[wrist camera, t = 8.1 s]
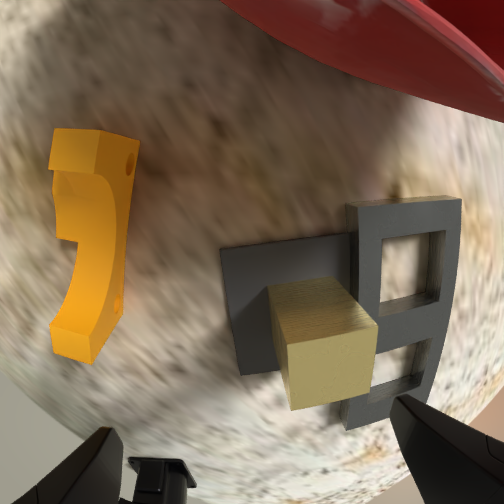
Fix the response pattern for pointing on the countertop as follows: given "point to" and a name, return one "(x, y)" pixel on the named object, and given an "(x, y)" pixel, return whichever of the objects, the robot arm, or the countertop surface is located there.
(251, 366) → the mat
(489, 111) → the mixing bowl
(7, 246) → the countertop surface
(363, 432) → the countertop surface
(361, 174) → the countertop surface
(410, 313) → the gray slotted plate
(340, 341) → the pale yellow block
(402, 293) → the countertop surface
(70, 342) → the pipe clamp
